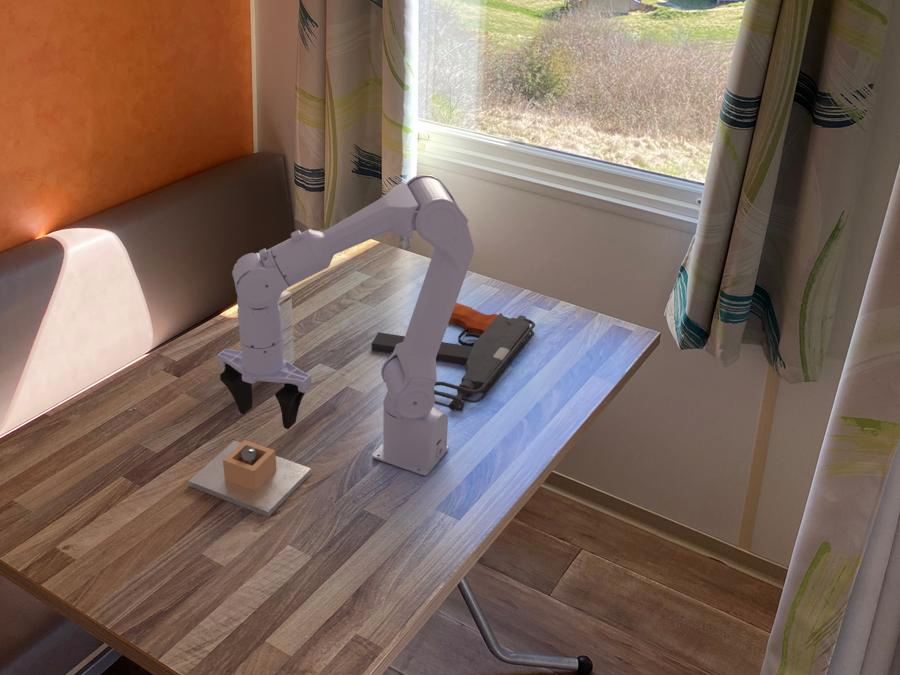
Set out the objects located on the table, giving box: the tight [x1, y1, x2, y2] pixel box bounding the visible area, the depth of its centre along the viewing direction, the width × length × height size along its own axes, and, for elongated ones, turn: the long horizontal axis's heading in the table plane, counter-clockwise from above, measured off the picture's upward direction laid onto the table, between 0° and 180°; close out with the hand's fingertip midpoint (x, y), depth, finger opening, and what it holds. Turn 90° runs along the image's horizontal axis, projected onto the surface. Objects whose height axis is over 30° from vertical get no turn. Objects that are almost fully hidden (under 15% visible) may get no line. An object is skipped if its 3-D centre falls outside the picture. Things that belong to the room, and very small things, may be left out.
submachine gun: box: [371, 302, 536, 411], centre depth 177 cm, size 32×3×25 cm
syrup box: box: [278, 290, 295, 365], centre depth 167 cm, size 6×6×14 cm
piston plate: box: [188, 440, 312, 518], centre depth 143 cm, size 14×11×6 cm
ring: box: [223, 439, 277, 491], centre depth 143 cm, size 5×5×4 cm
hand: (267, 417), depth 142 cm, fingers open, 7 cm apart
